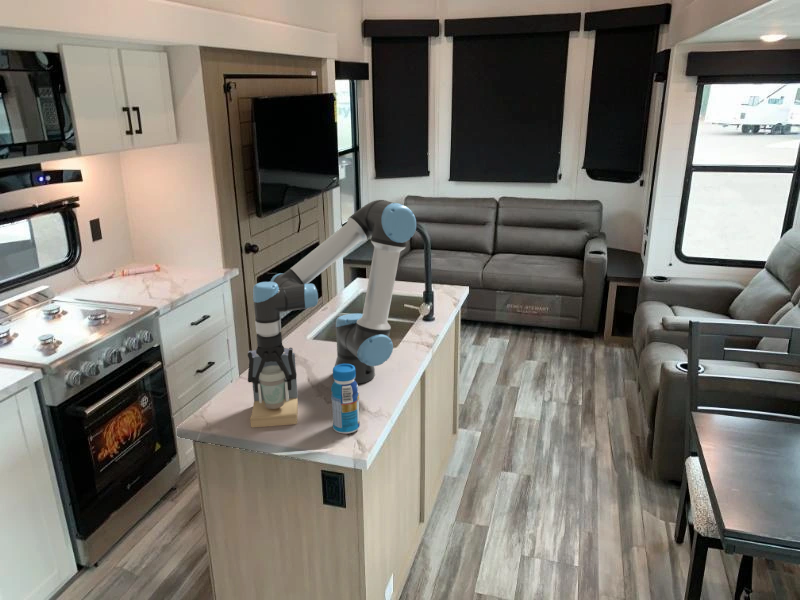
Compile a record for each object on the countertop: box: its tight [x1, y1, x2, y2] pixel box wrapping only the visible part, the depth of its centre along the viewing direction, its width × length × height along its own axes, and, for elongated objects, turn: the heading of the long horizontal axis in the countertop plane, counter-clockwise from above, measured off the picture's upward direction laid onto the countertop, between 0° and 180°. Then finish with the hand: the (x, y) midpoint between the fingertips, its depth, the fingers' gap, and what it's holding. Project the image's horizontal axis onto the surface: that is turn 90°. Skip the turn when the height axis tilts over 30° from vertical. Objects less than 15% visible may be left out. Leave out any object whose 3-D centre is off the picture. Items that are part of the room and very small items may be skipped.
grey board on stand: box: [249, 352, 299, 429], centre depth 186 cm, size 14×15×18 cm
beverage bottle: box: [330, 364, 361, 435], centre depth 178 cm, size 8×8×20 cm
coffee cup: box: [259, 366, 285, 409], centre depth 186 cm, size 8×8×12 cm
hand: (274, 400), depth 187 cm, fingers closed on coffee cup, 7 cm apart
